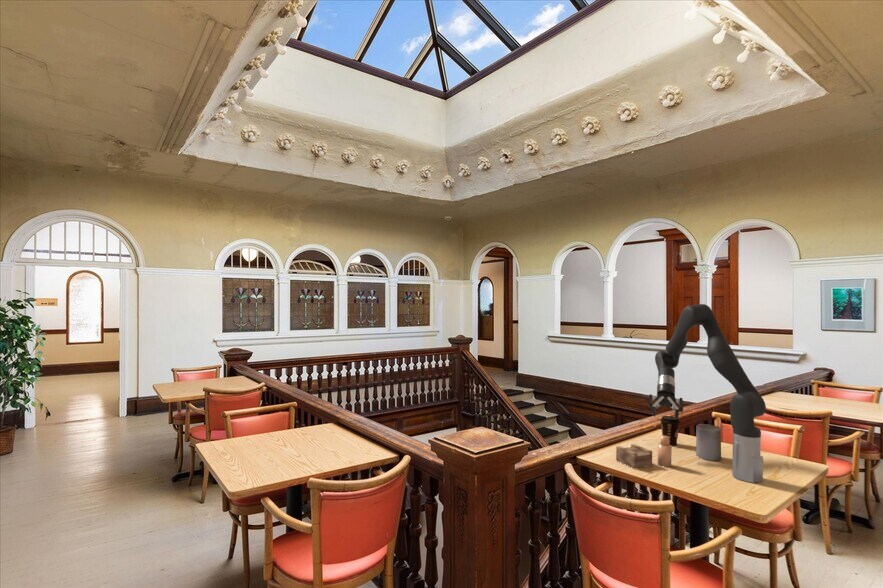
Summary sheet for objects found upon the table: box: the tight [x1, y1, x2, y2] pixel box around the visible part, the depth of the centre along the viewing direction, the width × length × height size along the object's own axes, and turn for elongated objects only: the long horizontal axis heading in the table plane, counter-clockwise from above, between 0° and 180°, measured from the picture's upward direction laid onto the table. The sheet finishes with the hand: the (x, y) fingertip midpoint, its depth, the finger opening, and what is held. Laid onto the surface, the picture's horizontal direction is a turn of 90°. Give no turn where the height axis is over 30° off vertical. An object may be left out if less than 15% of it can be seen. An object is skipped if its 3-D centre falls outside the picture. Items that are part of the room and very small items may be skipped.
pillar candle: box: [695, 423, 722, 462], centre depth 205 cm, size 10×10×15 cm
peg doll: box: [657, 434, 673, 468], centre depth 195 cm, size 5×5×12 cm
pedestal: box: [615, 443, 653, 469], centre depth 196 cm, size 10×10×6 cm
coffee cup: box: [659, 415, 681, 447], centre depth 224 cm, size 9×8×13 cm
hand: (665, 417), depth 205 cm, fingers open, 8 cm apart
